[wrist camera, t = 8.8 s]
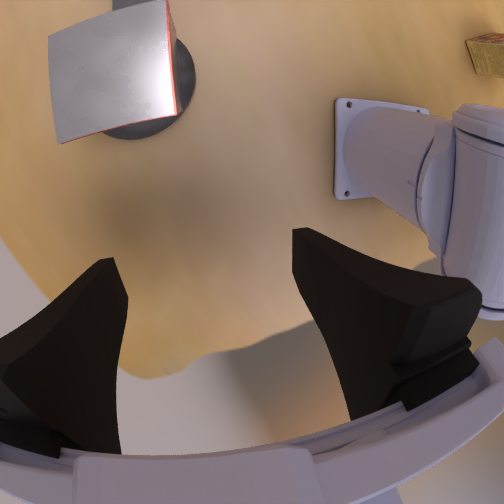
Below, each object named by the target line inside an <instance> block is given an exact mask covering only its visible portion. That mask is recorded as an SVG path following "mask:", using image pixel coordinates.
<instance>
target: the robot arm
mask: <svg viewBox="0 0 504 504" xmlns="http://www.w3.org/2000/svg"><path fill="white" fill-rule="evenodd" d="M347 102H349V103H350V106H349V108H348V107H347V106H346V103H347ZM417 111H418V112H417ZM335 129H336V144H335V187H334V195H335V197H336V198H337V199H339V200H346V199H357V198H368V197H375V198H376V199H378V200H379V201H381V202H382V203H384V204H385V205H387V206H388V207H389V208H391V209H392V210H394V211H395V212H397V213H398V214H399V215H401V216H402V217H403V218H405V219H406V220H408V221H409V222H410V223H412V224H413V225H414V226H416V227H417V228H418V229H420V230H421V231H422V232H424V233H425V234H426V235H427V236H428V240H429V250H430V251H432V252H433V253H434V254H435V255H436V256H437V257H439V258H440V259H441V261H440V266H439V275H434V274H429V273H423V272H418V271H414V270H410V269H406V268H402V267H399V266H395V265H392V264H389V263H386V262H383V261H380V260H377V259H375V258H372V257H369V256H367V255H365V254H362V253H360V252H358V251H356V250H353V249H351V248H349V247H347V246H345V245H343V244H341V243H339V242H337V241H335V240H333V239H331V238H329V237H327V236H325V235H323V234H321V233H319V232H317V231H315V230H313V229H310V228H308V227H306V228H299V229H292V273H293V276H294V279H295V281H296V284H297V287H298V289H299V292H300V294H301V296H302V298H303V299H304V301H305V303H306V305H307V307H308V309H309V311H310V312H311V314H312V316H313V318H314V320H315V322H316V324H317V325H318V327H319V329H320V331H321V333H322V335H323V337H324V339H325V342H326V344H327V347H328V349H329V352H330V355H331V357H332V360H333V363H334V366H335V369H336V372H337V374H338V377H339V380H340V384H341V387H342V390H343V393H344V397H345V400H346V404H347V407H348V412H349V415H350V419H351V421H350V422H347V423H344V424H341V425H339V426H335V427H332V428H329V429H326V430H322V431H319V432H316V433H312V434H309V435H305V436H301V437H297V438H293V439H289V440H285V441H281V442H275V443H271V444H266V445H261V446H255V447H250V448H243V449H236V450H230V451H222V452H213V453H202V454H188V455H160V456H159V455H158V456H149V455H147V456H146V455H122V453H121V447H120V441H119V434H118V424H117V411H116V376H117V366H118V359H119V354H120V349H121V344H122V339H123V334H124V329H125V324H126V319H127V310H128V295H127V293H126V290H125V288H124V285H123V282H122V280H121V277H120V275H119V272H118V269H117V266H116V264H115V261H114V258H113V257H111V258H105V259H100V260H99V261H97V262H96V263H94V264H93V265H92V266H91V267H90V268H88V269H87V270H86V271H85V272H84V273H83V274H82V275H81V276H80V277H79V278H77V279H76V280H75V281H74V282H73V283H72V284H71V285H70V286H69V287H68V288H67V289H66V290H65V291H63V292H62V293H61V294H60V295H59V296H58V297H57V298H56V299H55V300H54V301H52V302H51V303H50V304H49V305H48V306H47V307H46V308H44V309H43V310H42V311H40V312H39V313H38V314H36V315H35V316H34V317H32V318H31V319H30V320H28V321H27V322H25V323H24V324H22V325H21V326H20V327H18V328H17V329H15V330H13V331H12V332H10V333H9V334H7V335H5V336H3V337H2V338H0V491H2V492H4V493H6V494H8V495H10V496H12V497H14V498H16V499H18V500H21V501H23V502H25V503H27V504H403V503H402V500H401V498H400V496H399V493H398V491H397V488H396V487H397V486H399V485H401V484H403V483H405V482H407V481H408V480H410V479H412V478H414V477H416V476H417V475H419V474H421V473H422V472H424V471H426V470H428V469H429V468H431V467H433V466H434V465H436V464H437V463H439V462H440V461H442V460H443V459H445V458H446V457H448V456H449V455H451V454H452V453H454V452H455V451H456V450H458V449H459V448H461V447H462V446H463V445H465V444H466V443H467V442H469V441H470V440H471V439H472V438H474V437H475V436H476V435H477V434H479V433H480V432H481V431H482V430H483V429H485V428H486V427H487V426H488V425H489V424H491V423H492V422H493V421H494V420H495V419H496V418H497V417H498V416H499V415H500V414H502V413H503V412H504V346H503V345H502V343H501V342H500V341H499V340H498V339H497V338H496V337H494V338H493V339H491V340H490V341H488V342H487V343H486V344H484V345H482V346H481V347H480V348H478V349H477V350H476V351H475V352H474V353H473V354H472V352H471V351H470V350H469V347H470V346H471V341H470V340H469V339H468V337H467V335H468V333H469V331H470V329H471V327H472V325H473V323H474V322H475V320H476V318H477V317H479V318H483V319H487V320H504V109H501V108H496V107H491V106H486V105H479V104H463V105H461V106H460V107H459V108H458V110H455V111H454V112H453V113H452V120H449V119H445V118H441V117H436V116H432V115H430V112H429V110H428V109H426V108H421V107H415V106H410V105H403V104H397V103H390V102H382V101H373V100H364V99H352V98H338V99H337V100H336V101H335ZM346 191H348V193H347V195H345V192H346Z"/></svg>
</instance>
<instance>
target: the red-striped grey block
mask: <svg viewBox="0 0 504 504" xmlns="http://www.w3.org/2000/svg"><path fill="white" fill-rule="evenodd" d="M48 60H49V79H50V91H51V101H52V109H53V116H54V123H55V130H56V136H57V141H58V144H64V143H67V142H70V141H73V140H76V139H79V138H82V137H85V136H89V135H92V134H95V133H99V132H102V131H106V130H110V129H114V128H118V127H122V126H126V125H130V124H134V123H139V122H143V121H148V120H153V119H158V118H163V117H169V116H174V115H178V113H179V112H182V111H183V107H182V98H181V88H180V77H179V66H178V53H177V39H176V29H175V26H174V23H173V20H172V17H171V13H170V10H169V2H168V1H166V0H156V1H151V2H146V3H142V4H138V5H134V6H130V7H126V8H122V9H119V10H115V11H112V12H109V13H105V14H102V15H99V16H96V17H93V18H91V19H88V20H85V21H82V22H80V23H77V24H75V25H72V26H70V27H68V28H65V29H63V30H61V31H58V32H56V33H54V34H52V35H50V36H48Z"/></svg>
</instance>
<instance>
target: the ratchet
mask: <svg viewBox="0 0 504 504" xmlns="http://www.w3.org/2000/svg"><path fill="white" fill-rule="evenodd" d="M151 1H156V0H113V11H115V10H119V9H122V8H126V7H130V6H134V5H138V4H142V3H146V2H151ZM176 39H177V38H176ZM177 53H178V66H179V77H180V88H181V98H182V107H183V111H182V112H179V113H178V115H174V116H169V117H163V118H158V119H153V120H148V121H143V122H139V123H134V124H130V125H126V126H122V127H118V128H114V129H110V130H106V131H102V132H103V133H105V134H107V135H109V136H111V137H114V138H119V139H126V140H133V139H141V138H145V137H149V136H151V135H154V134H156V133H158V132H160V131H162V130H164V129H165V128H166V127H168V126H169V125H171V124H172V123H173V122H175V121H176V120H177V119H178V118H179V117H180V116H181V115H182V114H183V113H184V111H185V110H186V108H187V107H188V105H189V103H190V102H191V99H192V97H193V94H194V90H195V84H196V75H195V68H194V63H193V60H192V57H191V55H190V53H189V51H188V50H187V48H186V47H185V45H184V44H183V43H182V42H181V41H180V40H178V39H177Z"/></svg>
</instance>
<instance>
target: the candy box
mask: <svg viewBox="0 0 504 504" xmlns="http://www.w3.org/2000/svg"><path fill="white" fill-rule="evenodd" d="M466 44H467V47H468V49H469V52H470V55H471V58H472V61H473V64H474V67H475V71H476V73H477V74H483V75H489V76H494V77H500V78H504V34H502V33H493V34H489V35H485V36H481V37H478V38H474V39H471V40H467V41H466Z"/></svg>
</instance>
